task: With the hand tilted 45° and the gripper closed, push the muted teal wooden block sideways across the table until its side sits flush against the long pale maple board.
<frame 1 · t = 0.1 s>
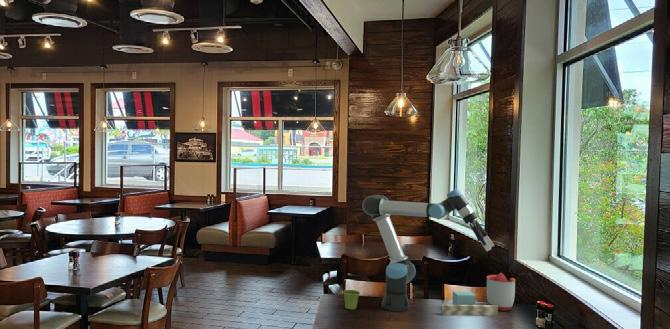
hand: (490, 248, 241), 36 cm above the table, fingers open, 13 cm apart
plant pot: (350, 308, 246), on the table
teal block: (463, 309, 250), on the table
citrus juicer: (500, 308, 255), on the table
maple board: (469, 314, 241), on the table
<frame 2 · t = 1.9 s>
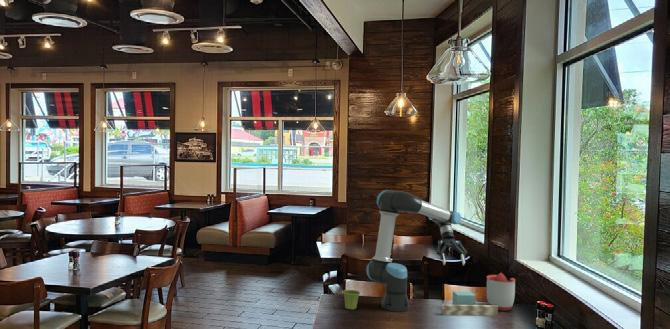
hand: (454, 264, 268), 21 cm above the table, fingers open, 11 cm apart
nothing on the table moved.
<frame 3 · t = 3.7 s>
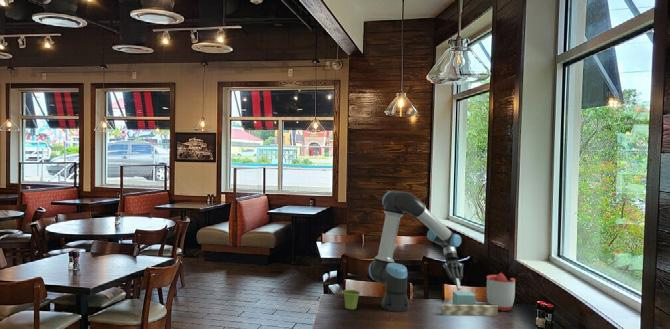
hand: (459, 289, 262), 8 cm above the table, fingers closed
nothing on the table moved.
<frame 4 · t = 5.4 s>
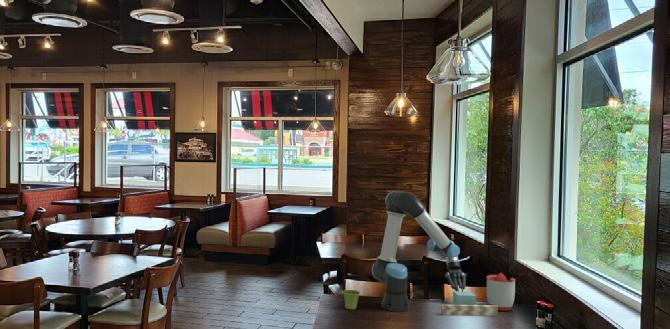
hand: (461, 299, 255), 4 cm above the table, fingers closed
teal block: (463, 309, 250), on the table, touching gripper
everything else where it was.
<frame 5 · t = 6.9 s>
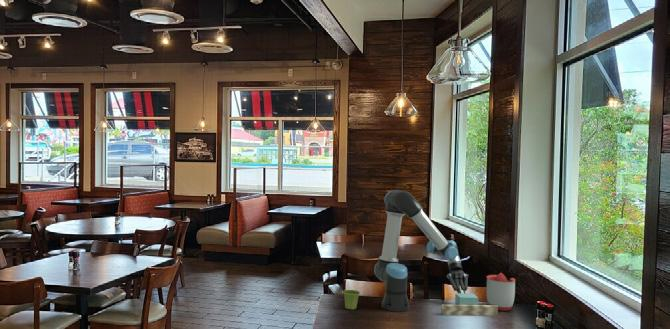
hand: (463, 301, 251), 4 cm above the table, fingers closed
teal block: (466, 311, 246), on the table, touching gripper, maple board
everything else where it was.
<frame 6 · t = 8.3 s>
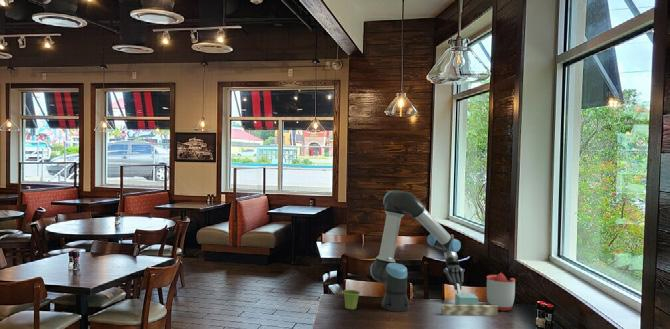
hand: (459, 294, 258), 6 cm above the table, fingers closed
teal block: (466, 312, 246), on the table
everything else where it was.
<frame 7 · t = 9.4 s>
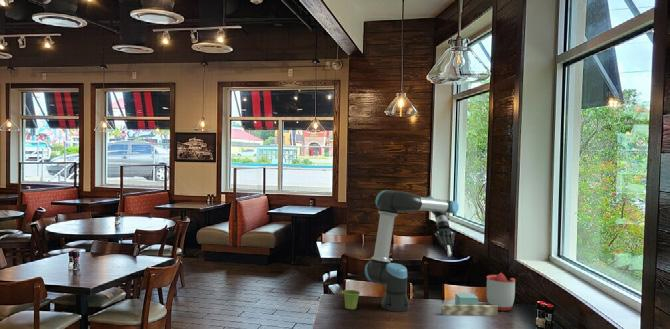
hand: (449, 255, 271), 26 cm above the table, fingers closed
nothing on the table moved.
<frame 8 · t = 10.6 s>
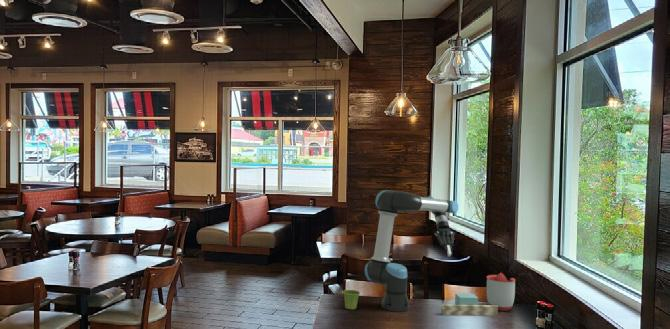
hand: (449, 255, 271), 26 cm above the table, fingers closed
nothing on the table moved.
at the end: teal block inside the target area on the table beside the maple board (0.2 cm from its centre), on the table; teal block tilted 0° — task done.
